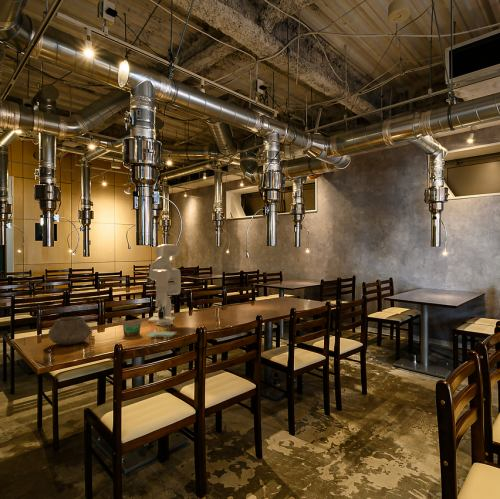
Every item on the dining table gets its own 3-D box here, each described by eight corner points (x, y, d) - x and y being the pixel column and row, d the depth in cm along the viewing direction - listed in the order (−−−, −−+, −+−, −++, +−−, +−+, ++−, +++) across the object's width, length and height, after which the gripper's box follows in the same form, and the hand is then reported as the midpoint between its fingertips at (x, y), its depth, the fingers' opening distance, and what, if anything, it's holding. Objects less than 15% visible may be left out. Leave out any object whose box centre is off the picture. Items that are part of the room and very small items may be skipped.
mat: (152, 332, 222) (152, 331, 222) (177, 332, 221) (177, 331, 221) (145, 337, 209) (145, 336, 209) (171, 337, 208) (171, 336, 208)
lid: (153, 317, 221) (152, 309, 221) (175, 318, 221) (175, 309, 220) (147, 321, 211) (147, 312, 211) (171, 321, 211) (170, 312, 210)
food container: (120, 338, 206) (120, 322, 206) (121, 336, 212) (121, 320, 212) (141, 337, 209) (141, 321, 209) (141, 335, 215) (141, 319, 215)
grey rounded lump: (80, 337, 210) (81, 313, 210) (96, 343, 196) (97, 317, 196) (42, 344, 193) (42, 319, 193) (57, 351, 179) (57, 323, 180)
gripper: (159, 287, 224) (160, 314, 224) (151, 291, 207) (152, 320, 208) (170, 287, 223) (170, 314, 224) (163, 291, 207) (163, 320, 207)
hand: (161, 316), depth 216 cm, fingers closed on lid, 3 cm apart
